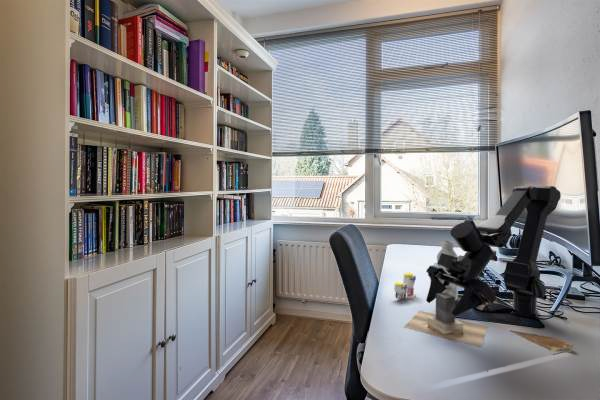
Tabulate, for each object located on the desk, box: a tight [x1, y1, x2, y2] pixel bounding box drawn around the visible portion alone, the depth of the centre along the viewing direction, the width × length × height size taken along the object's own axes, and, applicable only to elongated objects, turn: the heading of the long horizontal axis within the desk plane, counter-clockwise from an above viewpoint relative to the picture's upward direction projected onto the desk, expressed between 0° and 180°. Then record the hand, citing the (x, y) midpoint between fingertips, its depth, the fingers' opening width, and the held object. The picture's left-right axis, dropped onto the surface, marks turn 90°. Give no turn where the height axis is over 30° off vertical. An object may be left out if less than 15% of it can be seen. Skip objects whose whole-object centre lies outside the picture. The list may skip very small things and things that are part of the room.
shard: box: [509, 330, 575, 356], centre depth 78 cm, size 11×8×2 cm
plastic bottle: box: [436, 240, 459, 302], centre depth 106 cm, size 6×7×20 cm
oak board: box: [403, 310, 489, 348], centre depth 85 cm, size 14×18×1 cm
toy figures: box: [393, 272, 417, 301], centre depth 109 cm, size 12×4×8 cm, turn 134°
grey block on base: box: [428, 293, 463, 336], centre depth 84 cm, size 6×6×9 cm
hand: (439, 307), depth 83 cm, fingers open, 9 cm apart
